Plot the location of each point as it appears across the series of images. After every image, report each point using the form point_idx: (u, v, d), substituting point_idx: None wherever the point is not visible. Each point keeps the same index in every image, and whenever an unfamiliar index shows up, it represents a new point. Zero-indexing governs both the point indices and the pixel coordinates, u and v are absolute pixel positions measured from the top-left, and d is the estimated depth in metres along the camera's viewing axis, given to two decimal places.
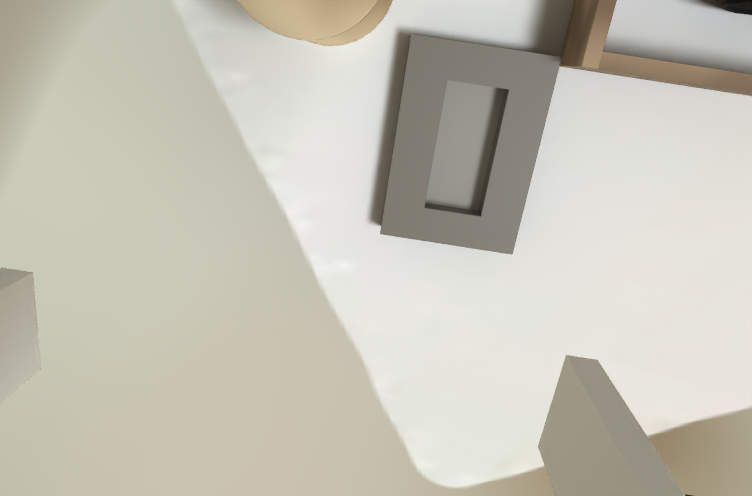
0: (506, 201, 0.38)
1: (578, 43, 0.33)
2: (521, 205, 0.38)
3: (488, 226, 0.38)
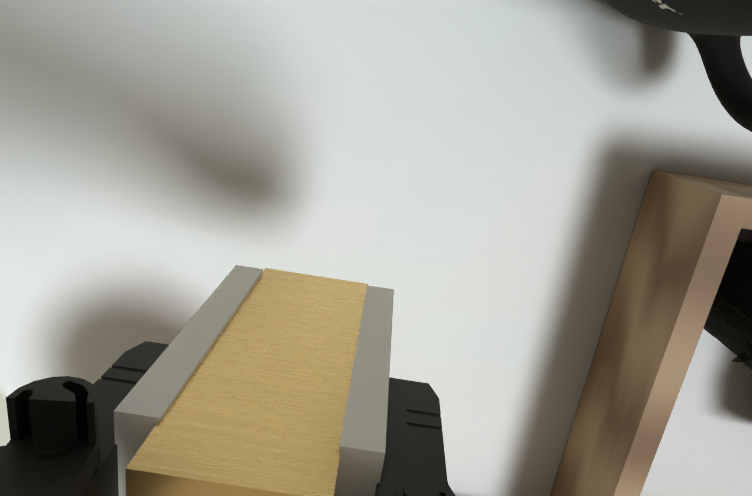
0: None
1: None
2: None
3: None
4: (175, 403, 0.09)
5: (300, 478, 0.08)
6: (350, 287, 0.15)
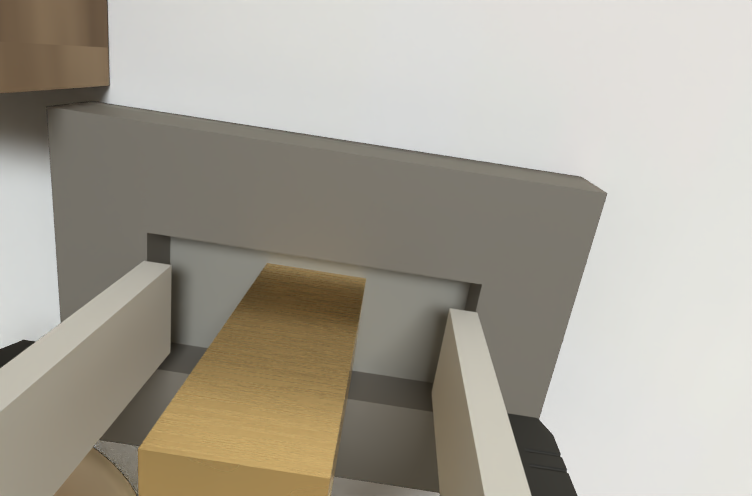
0: (440, 220, 0.13)
1: None
2: (453, 178, 0.13)
3: (512, 263, 0.14)
4: (183, 390, 0.10)
5: (300, 459, 0.08)
6: (348, 281, 0.15)
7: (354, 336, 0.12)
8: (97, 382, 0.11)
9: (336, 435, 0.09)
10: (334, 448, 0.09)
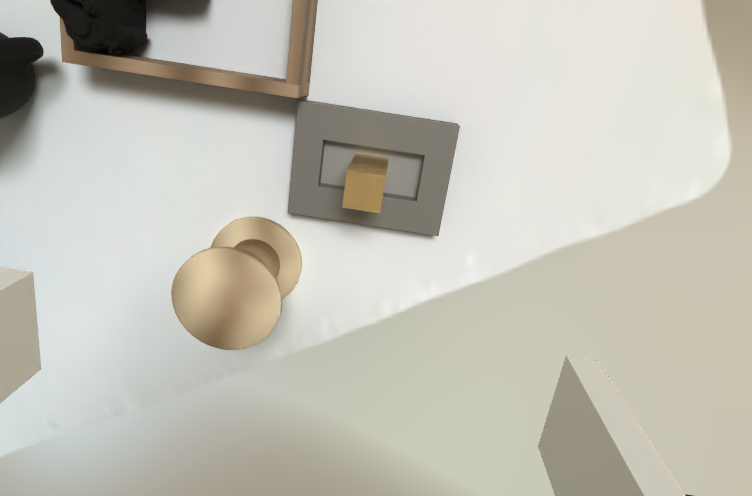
0: (412, 134, 0.45)
1: None
2: (415, 122, 0.45)
3: (433, 148, 0.45)
4: (349, 166, 0.41)
5: (379, 174, 0.40)
6: (383, 158, 0.47)
7: (387, 165, 0.44)
8: None
9: (385, 173, 0.41)
10: (385, 174, 0.40)
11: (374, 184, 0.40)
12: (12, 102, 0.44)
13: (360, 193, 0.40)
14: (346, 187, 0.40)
